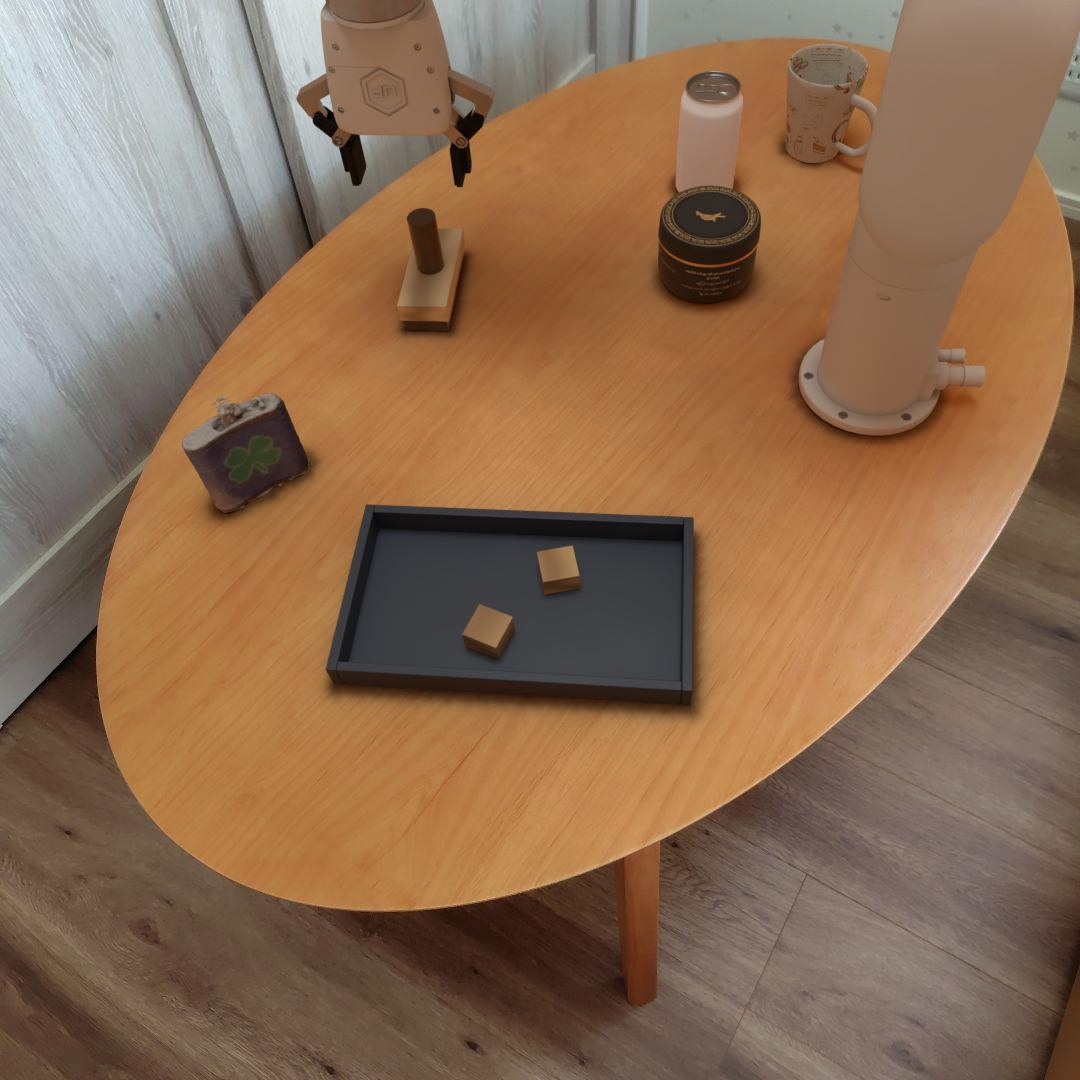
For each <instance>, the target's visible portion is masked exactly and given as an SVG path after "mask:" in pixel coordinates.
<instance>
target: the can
mask: <svg viewBox="0 0 1080 1080" xmlns="http://www.w3.org/2000/svg"><path fill="white" fill-rule="evenodd" d="M741 89H742V83H741V81H740V80H739V78H737V77H736V76H735V75H733V74H731V73H728V72H727V71H720V70H706V71H702V72H698V73H695V74H694V75H692V76H691V77H690V78H688V80H687V81H686V83H685V89H684V91H683V93H682V95H681V98H680V105H679V119H678V120H679V121H678V123H679V124H678V132H677V133H678V135H677V148H676V149H677V151H676V168H675V188H676V191H677V193H679V192H681V191H684V190H686V189H690V188H693V187H698V186H722V187H727V188H731V189H733V188H734V181H735V174H736V167H737V158H738V152H739V151H738V150H739V143H740V135H741V126H742V116H743V107H744V97H743V93H742V91H741Z"/></svg>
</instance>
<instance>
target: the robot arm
mask: <svg viewBox="0 0 1080 1080" xmlns="http://www.w3.org/2000/svg"><path fill="white" fill-rule="evenodd" d="M320 32H321V44H322V52H323V53H322V54H323V61H324V67H325V73H324V74H322V75H320V76H318V77H317V78H315V79H314V80H312V81H310V82H308V83H307V84H305V85H304V86H301V87H300V89H299V90H298V93H297V95H296V98H295V99H296V102H297V104H298V105H299V106H300V108H301V109H302V110H303V112H304V113H306V116H308V117H310V119H311V120H312V124H313V126H315V127H316V128H317V129H318V130H320V131H321V132H322V133H324V134H325V135H326V136H327V137H329V138H330V139H331V143H332V144H333V146H335V147H336V148H338V150H339V154H340V159H341V162H342V166H343V170H344V172H345V173H349V177H350V181H351V183H352V184H351V185H352V187H360V185H362V183H363V179H364V176H365V174H366V171H367V161H366V157H365V153H364V149H363V144H362V140H361V136H398V137H399V136H406V137H407V136H411V137H412V136H413V137H414V136H416V137H417V136H437V135H440V134H443V135H444V136H445V137H446V138H447V139H448V140H449V141H450V142H451V143H450V146H449V157H450V163H451V164H450V165H451V170H452V171H451V172H452V177H453V185H454V186H455V187H456V188H463V187H464V183H465V179H466V175H467V174H471V173H472V169H473V168H472V167H473V160H472V153H471V146H470V141H471V140H472V138H473V137H474V136H475V135H477V134H478V132H479V131H480V130H482V129H483V127H484V124H485V122H486V119H487V117H488V115H489V112H490V111H491V108H492V106H493V103H494V99H495V93H496V92H495V90H494V89H493V88H491V87H490V86H488V85H485V84H483V83H481V82H480V81H478V80H476V79H473V78H471V77H469V76H467V75H465V74H463V73H460V72H459V71H456V70H454V69H453V68H452V65H451V61H450V56H449V51H448V46H447V43H446V38H445V35H444V31H443V28H442V24H441V21H440V17H439V15H438V12H437V9H436V6H435V4H434V0H325V4H324V5H323V7H322V8H321V10H320ZM1079 34H1080V0H904V1H903V3H902V7H901V11H900V15H899V18H898V22H897V26H896V29H895V34H894V38H893V42H892V45H891V49H890V54H889V58H888V62H887V67H886V70H885V76H884V80H883V84H882V88H881V92H880V96H879V101H878V105H877V108H876V109H877V113H876V118H875V122H874V126H873V130H872V134H871V133H870V136H871V139H870V143H869V147H868V151H867V155H865V160H864V165H863V167H862V168H863V169H862V173H861V177H860V180H859V186H858V196H857V200H858V208H857V212H856V216H855V219H854V224H853V227H852V231H851V234H850V238H849V241H848V245H847V249H846V253H845V257H844V260H843V265H842V269H841V272H840V277H839V281H838V285H837V288H836V293H835V297H834V302H833V305H832V308H831V313H830V315H829V316H830V317H829V321H828V324H827V329H826V332H825V336H824V338H823V339H820V340H819V341H817V342H816V343H815V344H813V345H812V346H811V347H810V348H809V349H808V350H807V352H806V353H805V355H804V356H803V358H802V361H801V364H800V367H799V372H798V388H799V391H800V395H801V396H802V398H803V400H804V402H805V404H806V405H807V406H808V407H809V408H810V409H811V411H812V412H813V413H814V414H816V415H817V416H818V417H819V418H821V419H822V420H823V421H825V422H826V423H828V424H830V425H832V426H834V427H836V428H839V429H840V430H843V431H846V432H849V433H854V434H858V435H865V436H875V437H876V436H890V435H896V434H901V433H904V432H905V431H908V430H911V429H914V428H915V427H916V426H918V425H920V424H921V423H923V422H924V421H925V420H926V419H927V418H928V417H929V416H931V413H932V412H933V410H934V409H935V407H936V405H937V403H938V399H939V397H940V392H941V390H945V389H946V388H947V386H959V387H960V388H982V387H983V386H984V383H985V381H986V367H985V366H984V365H971V364H970V365H969V364H966V365H965V364H964V363H965V362H966V358H967V357H966V356H967V351H966V349H965V348H952V347H951V348H940V345H941V343H942V341H943V338H944V335H945V332H946V330H947V327H948V326H949V322H950V321H951V317H952V314H953V312H954V310H955V307H956V305H957V302H958V299H959V297H960V294H961V292H962V289H963V287H964V285H965V281H966V279H967V277H968V274H969V271H970V270H971V267H972V266H973V263H974V260H975V258H976V256H977V253H978V250H979V248H980V247H982V246H984V245H985V243H986V242H988V241H989V240H990V239H991V238H992V237H993V236H994V235H995V233H996V232H997V231H998V230H999V229H1000V228H1001V226H1002V224H1003V223H1004V222H1005V220H1006V219H1007V217H1008V215H1009V213H1010V212H1011V209H1012V207H1013V205H1014V203H1015V201H1016V199H1017V197H1018V194H1019V192H1020V190H1021V187H1022V185H1023V182H1024V180H1025V178H1026V175H1027V172H1028V170H1029V168H1030V166H1031V163H1032V160H1033V158H1034V155H1035V153H1036V150H1037V148H1038V146H1039V143H1040V141H1041V138H1042V135H1043V133H1044V130H1045V128H1046V125H1047V123H1048V120H1049V118H1050V116H1051V113H1052V111H1053V108H1054V106H1055V104H1056V101H1057V98H1058V95H1059V92H1060V91H1061V87H1062V86H1063V82H1064V80H1065V77H1066V75H1067V73H1068V69H1069V67H1070V65H1071V64H1070V63H1071V61H1072V58H1073V55H1074V52H1075V49H1076V44H1077V42H1078V38H1079ZM327 96H329V99H330V104H331V109H329V108H328V107H327V106H326V105H323V102H322V101H321V100H322V99H324V98H326V97H327ZM456 96H458V97H460V98H462V99H465V100H467V101H469V102H471V103H472V104H473V105H474V106H473V108H472V109H471V110H470V111H469V112H467V114H466V115H465V114H464V113H463V112H462V111H461V110H460V109H459V108H458V107H457V106H456V105H455V101H456ZM949 364H962V365H949Z"/></svg>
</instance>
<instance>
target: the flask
mask: <svg viewBox="0 0 1080 1080" xmlns="http://www.w3.org/2000/svg"><path fill="white" fill-rule="evenodd" d="M224 400H225V401H224ZM222 401H223V402H222ZM216 402H219V403H218V404H217V405H216ZM216 402H215V401H213V402H212V406H215V405H216V411H217V414H216V415H215V416H212V417H211V418H209V419H207V420H206V421H205V422H203V423H202V424H200V425H199V426H196V428H194V429H192V430H191V431H190V432H189V433H187V434H186V435H185V436H184V437H183V439H182V442H181V447H182V449H183V452H184V454H185V455H186V457H187V458H188V460H189V461H190V463H191V465H192V466H193V468H194V470H195V472H196V473H197V475H198V476H199V479H200V480H201V482H202V484H203V486H204V488H205V490H206V491H207V492H208V494H209V496H210V498H211V499H212V501H213V503H214V505H215V507H216V509H218V510H219V511H221V512H222V513H223V514H226V513H231V512H236V511H238V510H240V509H243V508H245V507H246V504H249V503H250V502H252V501H255V500H256V499H260V498H262V497H265V496H266V495H267V494H269V493H270V492H271V491H272V490H273V488H275V487H277V486H278V487H281V486H282V485H283V484H284V483H285V482H286V481H292V480H293V479H295V478H296V477H299V476H301V475H304V474H305V473H306V472H307V470H308V468H309V466H310V465H311V463H309V462H308V461H309V459H308V456H307V453H306V451H305V449H304V446H303V443H302V441H301V439H300V437H299V435H298V432H297V430H296V428H295V425H294V423H293V420H292V418H291V416H290V413H289V411H288V409H287V406H286V403H285V401H284V400H283V399H282V398H281V397H280V396H279V395H277V394H275V393H272V392H269V393H264V394H261V395H258V396H256V397H253V398H251V399H247V400H245V401H242V402H240V403H238V402H231V403H229V402H230V400H227V396H226V395H223V396H219V397H217V398H216Z"/></svg>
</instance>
